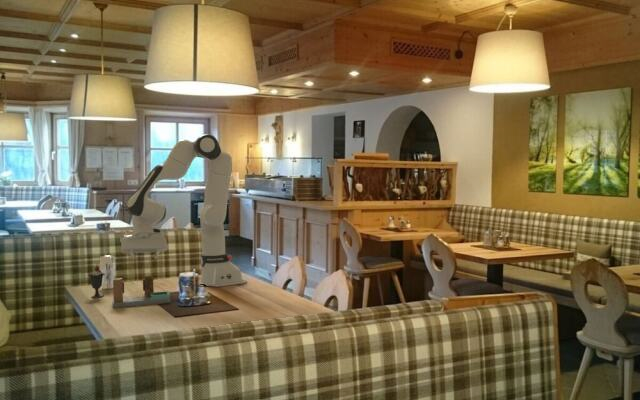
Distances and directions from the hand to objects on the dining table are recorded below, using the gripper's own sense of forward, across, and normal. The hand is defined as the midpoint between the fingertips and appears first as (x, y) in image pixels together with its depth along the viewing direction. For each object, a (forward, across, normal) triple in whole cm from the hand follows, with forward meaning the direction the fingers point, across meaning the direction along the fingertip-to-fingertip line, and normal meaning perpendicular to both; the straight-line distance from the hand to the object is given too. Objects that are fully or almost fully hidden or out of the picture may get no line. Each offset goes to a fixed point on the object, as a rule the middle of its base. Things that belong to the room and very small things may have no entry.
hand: (145, 258), depth 262 cm
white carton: (-2, -16, +24) cm, 29 cm away
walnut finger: (+20, 0, +2) cm, 20 cm away
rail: (+27, -4, -6) cm, 28 cm away
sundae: (+12, -21, +10) cm, 26 cm away
